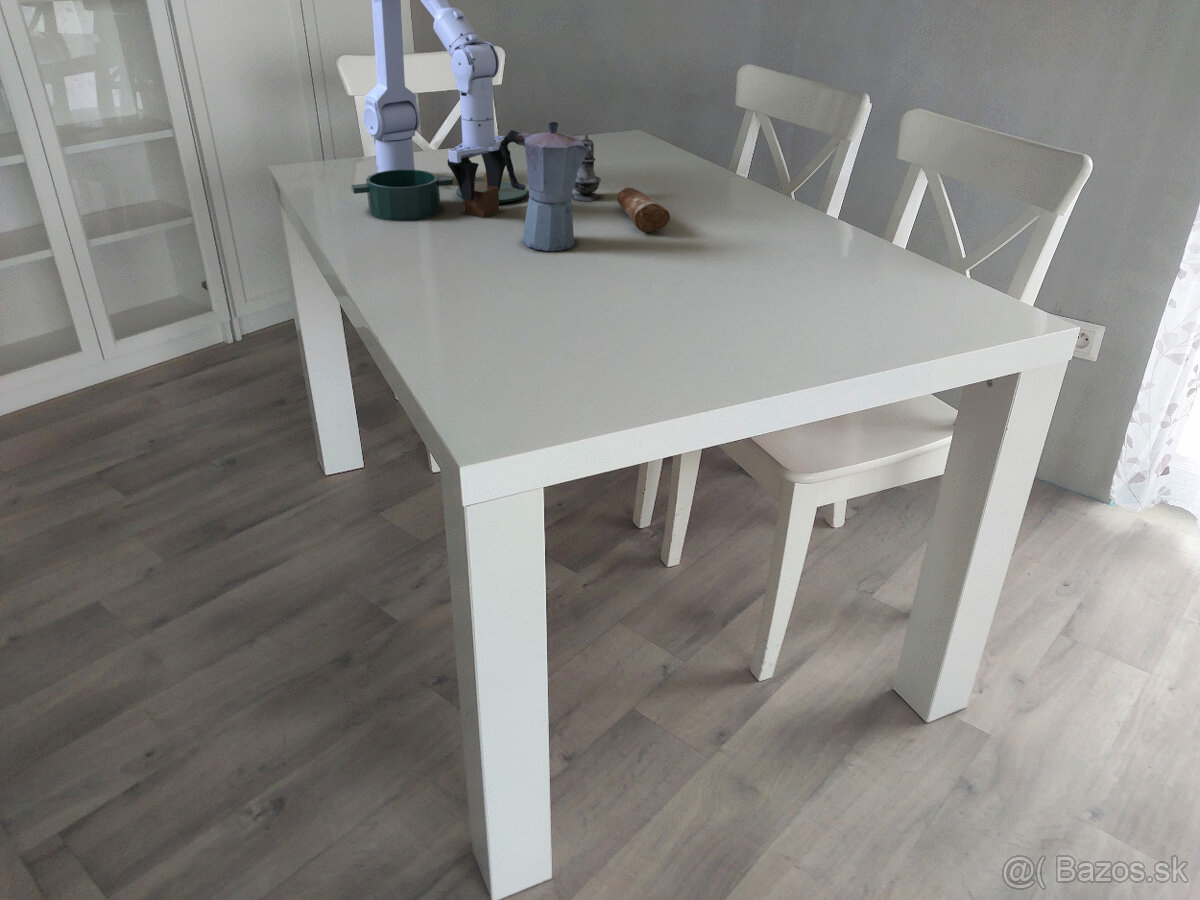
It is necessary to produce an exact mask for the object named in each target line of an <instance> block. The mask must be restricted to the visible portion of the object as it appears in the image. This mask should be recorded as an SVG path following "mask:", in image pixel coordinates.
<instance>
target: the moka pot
mask: <svg viewBox="0 0 1200 900" xmlns="http://www.w3.org/2000/svg"><path fill="white" fill-rule="evenodd" d="M558 128H559V122H555V121H550V122H549V123H548V130H549V131H543V132H536V133H533V134H530V133H528V132H519V131H516V130H513V129H511V130H510V131H509V132H507V135H505V136H504V140H502V141H501V144H500V145H501V152H502V156H503V158H504V161H505V164H506V166H505V169H506V171H507V173H508V178H509V182H511V185H512V187H513V188H517V189H519V190H524V189H525V187H526V188H527V186H526V185H525V184H524V183H519V181H518V180H517V179H518V178H517V176H516V175H515V170H514V169H515V168H514V164H513V161H512V158H511V152H510V153H509V151H510V150H509V144H510V143H512V142H513V143H515V144H516V145H518V146H523V147H524V151H525V162H526V173H527V174H526V175H527V182H528V196H529V197H528V201H527V202H528V203H527V208H526V214H525V221H524V227H523V235H522V243H523V244H524V245H525V246H527V247H529V248H531V249H533V250H538V251H545V252H557V251H558V252H560V251H561V252H562V251H566V250H568V249H570V248H572V247H573V246H574V245H575V233H574V221H573V220H574V219H573V206H572V199H573V198H572V196H573V190H575V189H574V187H575V182H576V176H577V172H578V170H579V169H580V167H581V164H582V162H583V160H584V158H585V156H586V154H587V153H588V151H590V150H592V149H591V147H590V145H588V144H587V143H585V142H583V141H581V140H580V137H578V136H575V135H571V134H566V133H563V132H558Z"/></svg>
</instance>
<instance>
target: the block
mask: <svg viewBox="0 0 1200 900" xmlns="http://www.w3.org/2000/svg"><path fill="white" fill-rule="evenodd" d="M463 209H464V214H466V215H471V216H476V217H479V218H487V217H490V216H492V215H494V214H497V213H500V203H499V190H498V187H496V186H491V185H486V184H481V183H478V184H475V195H474V200H472V201H469V200H464V199H463Z"/></svg>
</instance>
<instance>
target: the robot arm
mask: <svg viewBox="0 0 1200 900" xmlns="http://www.w3.org/2000/svg"><path fill="white" fill-rule="evenodd" d="M401 1H402V0H371V10H372V12H371V13H372V24H373V26H372V27H373V39H374V41H373V42H374V56H375V70H376V85H375V86H374V87H372V89H371V90H370V91H369V92H368V93H367V94H366V95H365V96H364V99H365V101H364V110H363V114H362V115H363V117H362V119H363V124H364V127H365V130H366V131H367V133H368V134H369V136H371V138H374V140H375V143H374V151H375V152H374V153H375V161H376V171H377V172H376V173H378V172H383V171H389V170H402V169H404V170H416V167H415V158H414V155H415V154H414V144H413V137H415V136H416V131H417V130H419V127H420V123H421V114H420V111H419V108H418V103H417V96H416V94H415V93H414V92H413V91H411V90H410V89H409V88H408V87H407V86H406V81H405V78H406V77H405V59H404V58H405V57H404V45H403V44H404V42H403V21H402V3H401ZM419 1H420V2H421V4H423V6H424V8H425V9H426V10H427V11H428V12H429V13H430V16H432V18H433V19H434V20H433V24H432V28H433V31H434V32H435V34H436V36H437V37H438V39H439V40H440V42H441V44H442V45H443V47H444V48H445V49H446V51H447V52H448V54H449V56H450V57H451V61H450V67H451V71H452V73H453V76H454V78H455V86H456V88H457V91H458V92H459V100H460V101H459V103H460V119H461V120H460V121H461V137H462V138H461V139H462V142H461V143H459V144H458V145H457V146H455V147H453V148H452V149H448V159H447V160H446V161H447V166H448V167H449V169H450V170H451V172H452V174H453V176H454V179H455V180H456V182H457V185H458V188H460V191H461V195H462V198H463V199H462V198H461V199H462V200H463V201H464V200H469V201H472V200H474V195H475V182H476V176H477V171H478V168H479V163H478V162H473V161H472V160H470V159H471V158H474V157H477V156H481V158H482V161H483V164H484V168H485V173H486V176H487V185H491V186H496V187H498V190H500V185H501V181H503V175H504V171H505V169H506V164H505V161H504V158H503V156H502V152H501V145H500V144H501V141H502V140H504V137H505V136H503V135H497V136H495V134H496V133H495V112H494V111H495V110H494V109H495V108H494V87H493V79H494V78H495V77H496V76H497V74H498V72H499V69H500V68H499V67H500V60H499V55H498V52H497V50H496V49H495V46H494V45H493V44H492V43H491V42H488V41H485V40H484V39H483V38H480V37H479V36H478V34H477V33H476V31H475V30H474V28H473V27H472V26H471V24H470V22H469V21H468V19H467V17H466V15H465V14H464V12H463V11H462V9H459V8H458V7H452V6H451V5H450V3H449V1H448V0H419ZM509 153H510V154H511V150H509Z"/></svg>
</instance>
